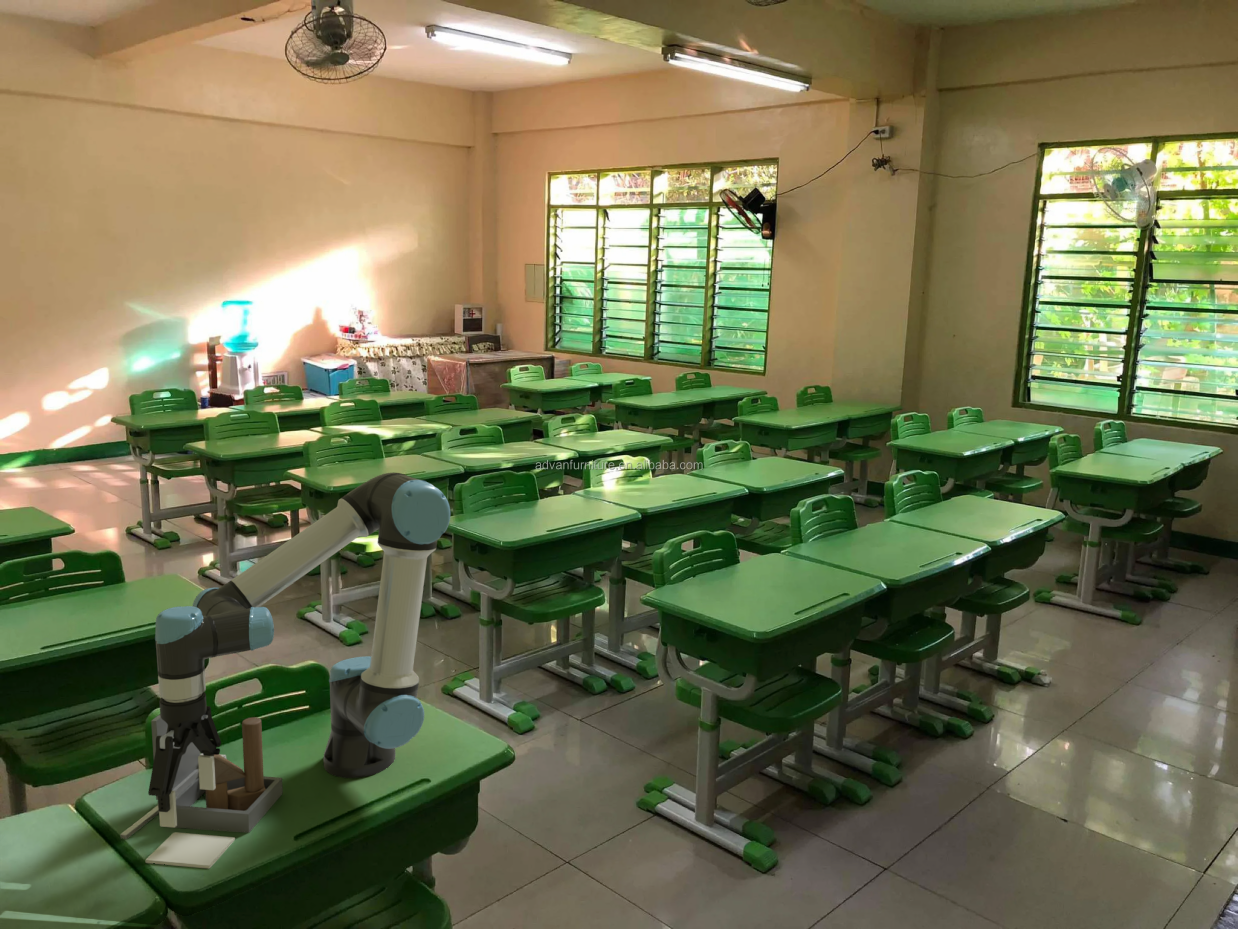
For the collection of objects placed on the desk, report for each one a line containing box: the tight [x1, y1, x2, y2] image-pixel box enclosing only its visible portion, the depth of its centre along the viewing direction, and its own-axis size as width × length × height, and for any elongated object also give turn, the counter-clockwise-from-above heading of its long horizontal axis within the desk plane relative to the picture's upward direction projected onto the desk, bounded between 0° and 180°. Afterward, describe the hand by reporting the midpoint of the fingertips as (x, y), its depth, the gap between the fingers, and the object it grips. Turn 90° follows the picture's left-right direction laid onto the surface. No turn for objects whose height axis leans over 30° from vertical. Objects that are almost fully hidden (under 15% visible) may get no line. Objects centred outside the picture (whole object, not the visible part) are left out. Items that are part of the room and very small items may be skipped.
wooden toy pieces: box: [204, 716, 266, 811], centre depth 186 cm, size 4×11×18 cm, turn 122°
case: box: [150, 714, 284, 833], centre depth 186 cm, size 18×15×21 cm
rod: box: [120, 804, 159, 840], centre depth 182 cm, size 12×1×1 cm, turn 170°
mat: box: [145, 832, 236, 870], centre depth 173 cm, size 12×9×1 cm
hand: (188, 806), depth 172 cm, fingers open, 12 cm apart
